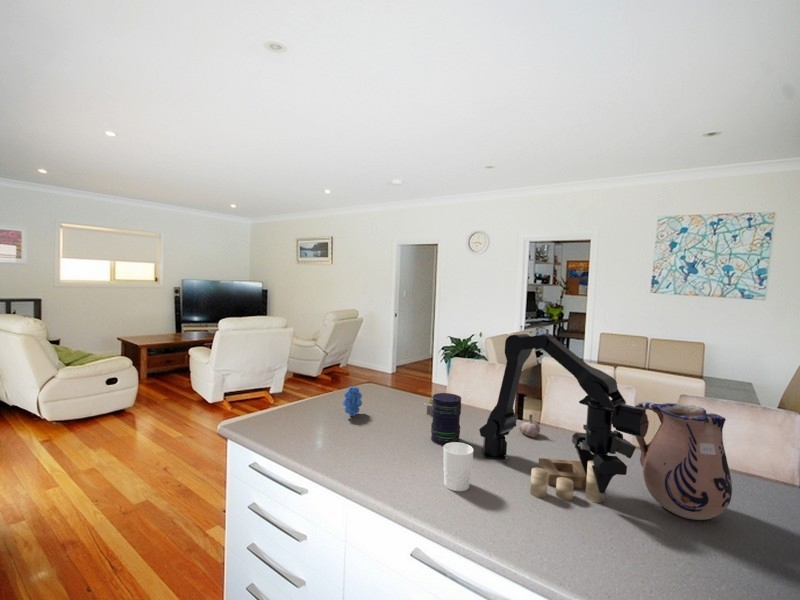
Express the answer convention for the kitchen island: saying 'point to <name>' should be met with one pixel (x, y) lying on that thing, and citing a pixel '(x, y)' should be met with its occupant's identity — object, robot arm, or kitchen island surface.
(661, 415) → the ceramic pitcher
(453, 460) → the white cup
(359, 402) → the grapes
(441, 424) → the storage jar
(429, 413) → the platform
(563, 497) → the stub dowel
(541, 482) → the medium dowel
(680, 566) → the kitchen island surface
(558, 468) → the collar block
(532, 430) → the garlic bulb
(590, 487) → the long dowel
